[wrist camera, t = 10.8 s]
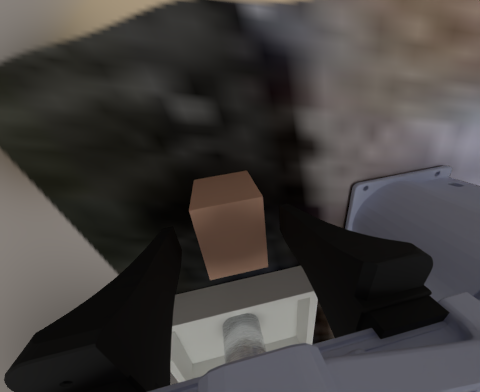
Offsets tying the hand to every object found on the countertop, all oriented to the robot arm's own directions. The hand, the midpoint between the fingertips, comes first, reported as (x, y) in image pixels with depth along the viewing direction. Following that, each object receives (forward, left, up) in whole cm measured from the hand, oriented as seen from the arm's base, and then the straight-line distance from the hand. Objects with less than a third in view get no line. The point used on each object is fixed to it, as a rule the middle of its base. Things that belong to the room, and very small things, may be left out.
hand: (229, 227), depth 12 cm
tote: (+1, +16, -3) cm, 16 cm away
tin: (+1, +16, -2) cm, 16 cm away
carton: (0, 0, -3) cm, 3 cm away
